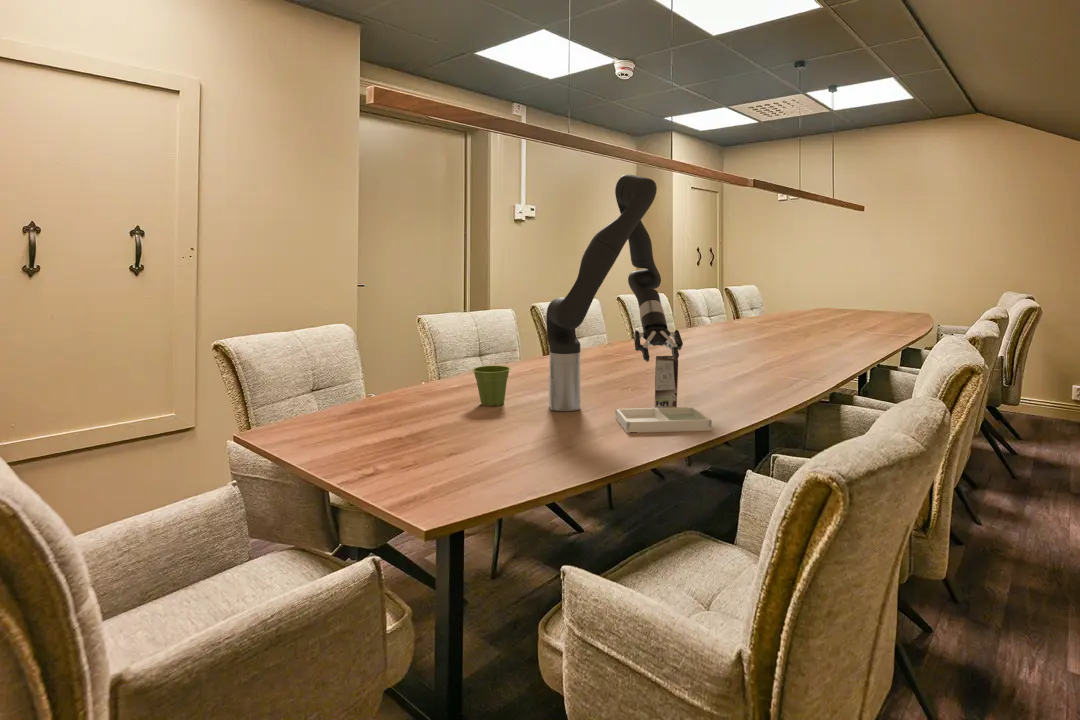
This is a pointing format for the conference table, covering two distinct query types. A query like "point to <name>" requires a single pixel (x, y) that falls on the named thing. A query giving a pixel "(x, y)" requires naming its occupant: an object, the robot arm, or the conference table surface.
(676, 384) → the coffee box
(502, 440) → the conference table surface
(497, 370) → the plant pot
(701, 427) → the tray
